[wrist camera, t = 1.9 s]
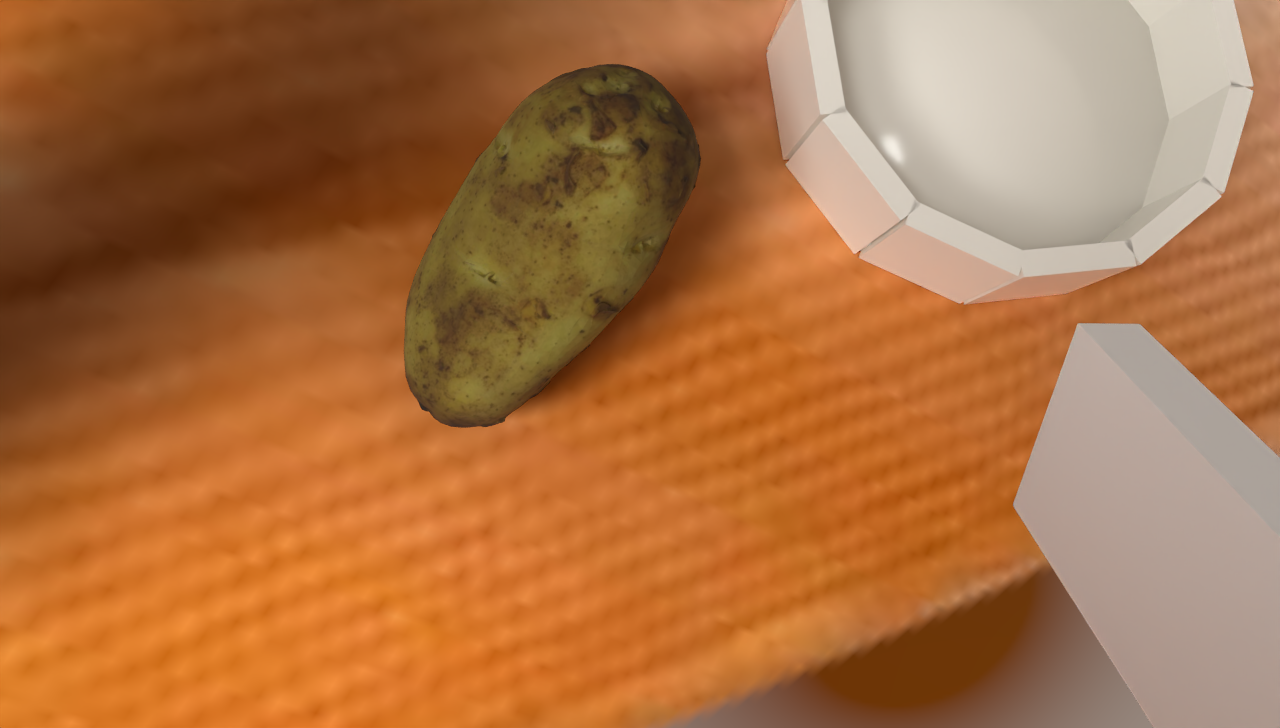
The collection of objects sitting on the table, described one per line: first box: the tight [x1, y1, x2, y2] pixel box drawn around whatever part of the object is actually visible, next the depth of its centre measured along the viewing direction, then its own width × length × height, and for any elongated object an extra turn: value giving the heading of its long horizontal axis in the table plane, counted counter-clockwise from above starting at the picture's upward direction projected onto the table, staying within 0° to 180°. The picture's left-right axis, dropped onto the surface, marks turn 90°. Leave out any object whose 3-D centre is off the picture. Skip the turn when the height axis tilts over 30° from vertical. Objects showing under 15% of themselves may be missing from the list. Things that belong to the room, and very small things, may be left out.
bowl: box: [766, 0, 1254, 304], centre depth 39 cm, size 18×18×4 cm
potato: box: [404, 64, 701, 427], centre depth 33 cm, size 8×13×8 cm, turn 128°
